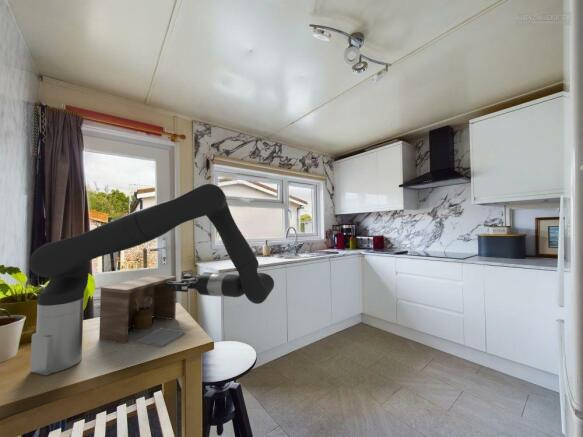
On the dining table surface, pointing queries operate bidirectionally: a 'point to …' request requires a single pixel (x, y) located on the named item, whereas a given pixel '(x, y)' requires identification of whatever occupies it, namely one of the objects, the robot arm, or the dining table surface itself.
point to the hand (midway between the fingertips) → (175, 281)
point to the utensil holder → (142, 317)
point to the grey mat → (161, 337)
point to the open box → (133, 304)
